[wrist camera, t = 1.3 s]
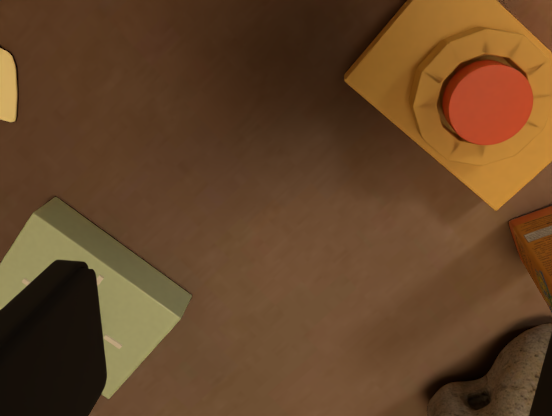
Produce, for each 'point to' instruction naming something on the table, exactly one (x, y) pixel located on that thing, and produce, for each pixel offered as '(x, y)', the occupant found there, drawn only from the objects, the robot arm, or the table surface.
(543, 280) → the supplement box
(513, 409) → the stone
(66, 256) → the dial panel
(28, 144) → the table surface
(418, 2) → the button block
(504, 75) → the red push button
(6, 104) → the cloth
